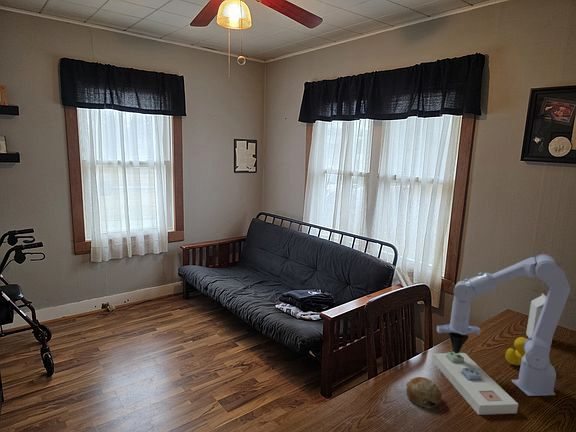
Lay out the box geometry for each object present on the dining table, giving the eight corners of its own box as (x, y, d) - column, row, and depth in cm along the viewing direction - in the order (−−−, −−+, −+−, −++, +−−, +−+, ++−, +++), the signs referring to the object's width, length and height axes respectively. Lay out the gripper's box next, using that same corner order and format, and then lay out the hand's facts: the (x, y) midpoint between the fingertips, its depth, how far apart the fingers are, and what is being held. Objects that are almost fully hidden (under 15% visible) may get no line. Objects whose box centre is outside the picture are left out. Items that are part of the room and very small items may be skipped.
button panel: (463, 360, 137) (464, 352, 137) (516, 413, 110) (518, 404, 109) (432, 361, 136) (433, 353, 135) (478, 414, 108) (479, 405, 108)
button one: (491, 398, 115) (492, 391, 115) (499, 407, 111) (501, 399, 111) (479, 399, 115) (480, 391, 114) (487, 408, 111) (488, 400, 110)
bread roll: (413, 417, 112) (422, 403, 107) (397, 385, 120) (405, 371, 115) (441, 412, 114) (451, 398, 110) (424, 381, 122) (433, 367, 118)
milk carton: (531, 342, 153) (538, 298, 149) (525, 334, 159) (532, 291, 156) (551, 345, 151) (558, 300, 147) (545, 337, 157) (552, 294, 154)
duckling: (523, 357, 140) (527, 333, 139) (536, 365, 135) (540, 340, 134) (499, 361, 137) (503, 336, 135) (512, 370, 132) (516, 344, 130)
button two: (457, 358, 134) (457, 351, 134) (463, 364, 130) (464, 357, 130) (446, 358, 134) (447, 351, 134) (452, 364, 130) (453, 357, 130)
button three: (473, 374, 125) (474, 367, 124) (480, 381, 121) (481, 374, 120) (461, 374, 124) (462, 367, 124) (468, 382, 120) (469, 374, 120)
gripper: (444, 320, 125) (440, 357, 127) (487, 321, 125) (482, 358, 128) (435, 311, 132) (431, 346, 134) (476, 312, 132) (471, 347, 135)
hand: (455, 351), depth 132 cm, fingers closed
